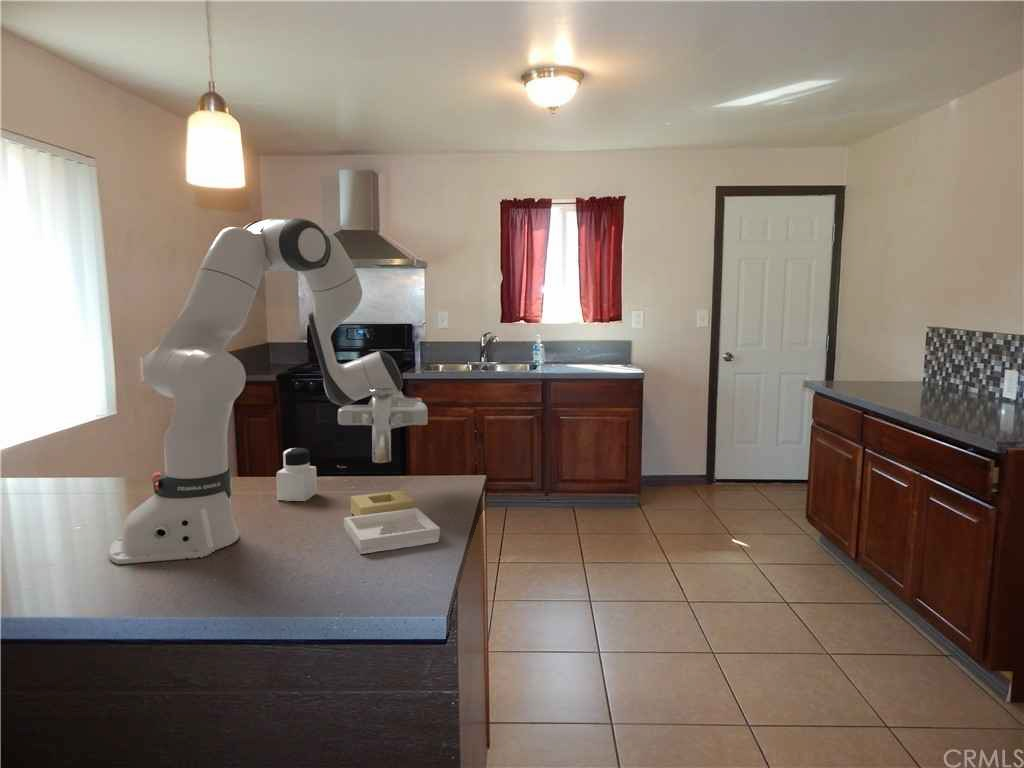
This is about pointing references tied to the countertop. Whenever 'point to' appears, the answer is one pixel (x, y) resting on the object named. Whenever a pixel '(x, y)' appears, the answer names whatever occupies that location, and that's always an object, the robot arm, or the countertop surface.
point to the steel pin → (381, 424)
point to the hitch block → (380, 503)
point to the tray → (368, 526)
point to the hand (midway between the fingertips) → (381, 421)
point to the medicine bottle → (296, 476)
